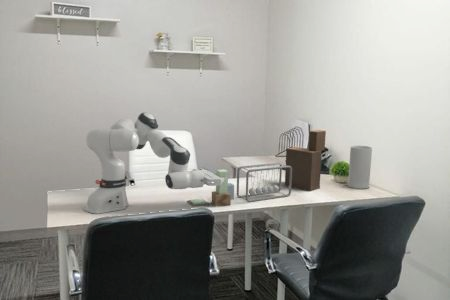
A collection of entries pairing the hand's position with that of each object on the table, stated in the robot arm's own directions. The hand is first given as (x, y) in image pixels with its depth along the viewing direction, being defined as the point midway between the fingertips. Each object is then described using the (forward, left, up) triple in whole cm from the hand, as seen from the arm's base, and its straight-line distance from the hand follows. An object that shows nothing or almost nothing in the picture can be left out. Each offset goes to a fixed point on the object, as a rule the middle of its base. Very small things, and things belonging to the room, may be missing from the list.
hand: (222, 176), depth 217 cm
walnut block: (-1, 0, -15) cm, 15 cm away
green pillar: (-1, 0, -9) cm, 9 cm away
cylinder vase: (+88, -33, -15) cm, 95 cm away
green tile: (-9, +9, -14) cm, 19 cm away
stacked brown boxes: (+62, -10, -15) cm, 65 cm away
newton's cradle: (+26, -7, -15) cm, 31 cm away
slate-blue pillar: (+9, +4, -14) cm, 18 cm away
